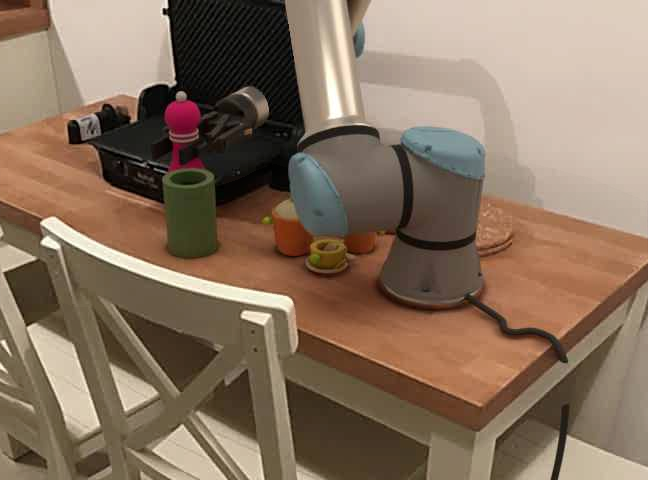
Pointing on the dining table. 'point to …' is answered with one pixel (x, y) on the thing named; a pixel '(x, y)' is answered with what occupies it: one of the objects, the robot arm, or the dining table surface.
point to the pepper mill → (182, 129)
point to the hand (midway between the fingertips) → (166, 154)
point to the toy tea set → (323, 252)
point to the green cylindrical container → (190, 212)
